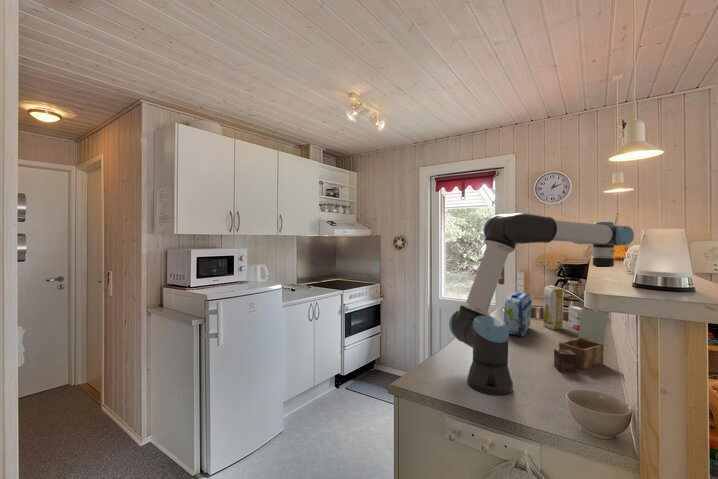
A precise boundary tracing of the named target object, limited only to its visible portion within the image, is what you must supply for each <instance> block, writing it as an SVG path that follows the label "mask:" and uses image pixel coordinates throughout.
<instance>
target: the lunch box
mask: <svg viewBox="0 0 718 479" xmlns="http://www.w3.org/2000/svg"><path fill="white" fill-rule="evenodd" d="M503 312H504V313H503V314H504V315H503V316H504V317H503V319H504V320H503V321H504V322H505V323H506V324H507V326H508V333H509V335H515V336H518V337H520V338H521V337H522V338H523V337H525V335H526V333H527V331H528V329H529V328H530V325H531V316H532V299H531V294H530V293H524V292H513V293H512V294H510V295H509V296H508V297H506V299H505V303H504V310H503Z"/></svg>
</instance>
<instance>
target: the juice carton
mask: <svg viewBox="0 0 718 479" xmlns="http://www.w3.org/2000/svg"><path fill="white" fill-rule="evenodd" d="M564 291H565V290H564V288H558V287H556V286H554V285H548V286H544V290H543V326H544V327H546V328H548V329H551V330H562V329H563V328H564V326H563V324H564V298H565V297H564V294H565V293H564Z"/></svg>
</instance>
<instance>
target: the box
mask: <svg viewBox="0 0 718 479" xmlns="http://www.w3.org/2000/svg"><path fill="white" fill-rule="evenodd" d="M553 352H554V353H553V354H554V355H553V366H554V367H555V368H556V369H557V371H559V372H560V373H561V372H562V373H572V374H576V373H577V368H576V354H575V353H573V352H572V351H571V350H569V349H559V348H554V351H553Z"/></svg>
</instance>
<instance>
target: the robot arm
mask: <svg viewBox="0 0 718 479" xmlns="http://www.w3.org/2000/svg"><path fill="white" fill-rule="evenodd" d="M483 225H484V226H483V234H484V235H483V236H484V245H485V246H486V247H485V250H484V253H483V255H482V258H481V261H480V263H479V266H478V269H477V272H476V274H475V277H474V280H473V283H472V285H471V287H470V291H469V294H468V296H467V298H466V302H463V303H461V304H460V307H459V309H458V310H456V311H455V312H453V313H452V314H451V315H450V318H449V322H448V327H449V330H450V332H451V334H452V335H453V337H454V338H455V339H457V340H458V342H462V343H463V344H466V345H467V346H468V347H470V348H472V363H471V365H470V366H469V370H468V373H467V377H466V378H467V380H466V382H467V385H468V386H469V387H470V388H472V389H473V390H475V391H477V392H479V393H482V394H485V395H486V394H487V395H491V396H503V395H508V394H511V393H512V392H513V389H514V382H513V379H512V376H511V373H510V369H509V338H510V334H509V333H508V326H507V324H506V323H505V322H504V320H503V319H501V318H498V317H493V316H491V314H490V313H489V308H490V306H491V302H492V300H493V297H494V294H495V292H496V290H497V286H498V283H499V281H500V278H501V275H502V273H503V271H504V270H503V269H504V266H505V264H506V261H507V258H508V255H509V254H510V253H513V252H515V249H516V247H517V245H519V244H520V245H521V244H522V245H523V244H534V243H536V244H537V243H542V244H543V243H544V244H548V243H551V242H553V241H554V242H568V243H573V244H574V245H575V244H576V245H577V244H578V245H592V256H593V257H592V266H593V267H595V268H596V267H610V268H612V267H614V266H615V258H614V256H615V252H616V250H615V246H628V245H629V246H630V245H631V243H632V242H633V241H634V238H635V237H634V235H635V234H634V233H635V232H634V230H633V229H632V227H630V226H626V225H615V223H614V222H613V221H595V222H593V223H589V222H587V223H585V222H576V221H564V220H557V219H556V220H555V219H554V218H553V217H551V216H543V215H536V214H531V213H525V212H524V213H523V212H517V213H500V214H499V213H498V214H497V215H496V214H495V215H492V216H490V217H489V218H488V219H487V220H486V221H485V223H484V224H483Z"/></svg>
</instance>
